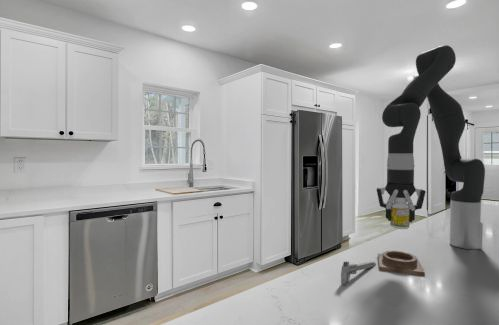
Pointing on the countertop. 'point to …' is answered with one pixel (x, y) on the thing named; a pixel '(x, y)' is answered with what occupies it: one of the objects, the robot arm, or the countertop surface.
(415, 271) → the bottle holder
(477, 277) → the countertop surface
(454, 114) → the robot arm
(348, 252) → the countertop surface
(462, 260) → the countertop surface
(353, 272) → the caliper
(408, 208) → the supplement bottle
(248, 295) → the countertop surface
